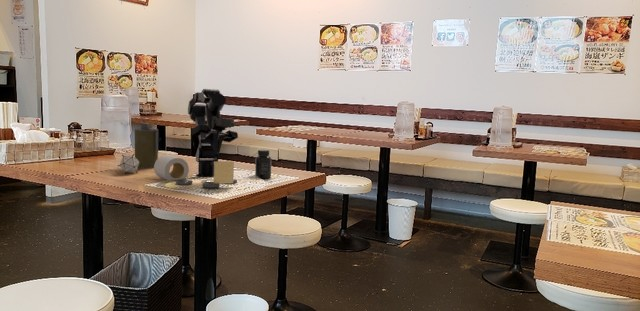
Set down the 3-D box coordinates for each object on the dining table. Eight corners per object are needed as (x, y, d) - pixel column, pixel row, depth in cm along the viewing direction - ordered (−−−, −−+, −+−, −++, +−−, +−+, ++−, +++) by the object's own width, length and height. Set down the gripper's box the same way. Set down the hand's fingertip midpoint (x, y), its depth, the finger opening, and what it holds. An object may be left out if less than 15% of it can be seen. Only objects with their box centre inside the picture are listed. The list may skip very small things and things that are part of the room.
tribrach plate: (170, 188, 180) (170, 182, 180) (202, 180, 199) (203, 174, 199) (211, 194, 174) (211, 187, 173) (241, 185, 192) (241, 179, 192)
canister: (129, 167, 222) (129, 123, 220) (143, 164, 232) (143, 122, 229) (149, 169, 219) (149, 124, 216) (163, 166, 229) (163, 123, 226)
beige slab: (204, 189, 174) (204, 163, 173) (201, 186, 180) (201, 160, 179) (234, 188, 179) (235, 162, 178) (231, 185, 184) (231, 160, 183)
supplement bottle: (273, 177, 213) (274, 150, 212) (267, 179, 207) (268, 151, 205) (258, 176, 215) (259, 148, 213) (252, 178, 208) (253, 150, 207)
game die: (124, 182, 207) (109, 163, 204) (136, 172, 214) (121, 154, 211) (138, 174, 203) (122, 154, 200) (149, 164, 210) (134, 145, 207)
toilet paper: (188, 182, 194) (189, 157, 193) (164, 184, 188) (164, 158, 186) (177, 178, 202) (177, 154, 200) (153, 180, 195) (153, 155, 194)
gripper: (206, 104, 186) (210, 141, 181) (244, 114, 200) (249, 149, 194) (189, 115, 192) (193, 152, 187) (227, 124, 206) (231, 159, 201)
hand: (217, 153), depth 192 cm, fingers closed
